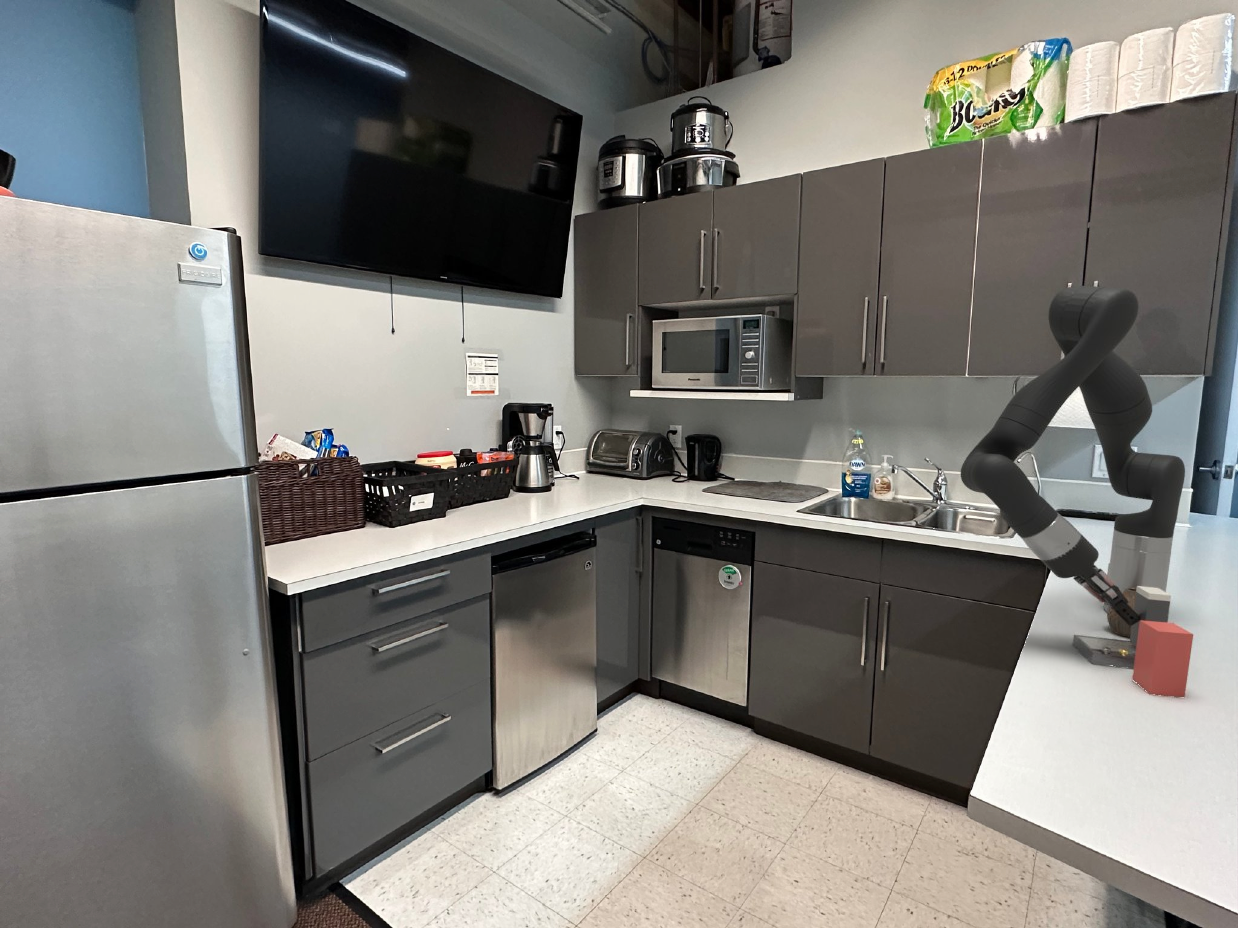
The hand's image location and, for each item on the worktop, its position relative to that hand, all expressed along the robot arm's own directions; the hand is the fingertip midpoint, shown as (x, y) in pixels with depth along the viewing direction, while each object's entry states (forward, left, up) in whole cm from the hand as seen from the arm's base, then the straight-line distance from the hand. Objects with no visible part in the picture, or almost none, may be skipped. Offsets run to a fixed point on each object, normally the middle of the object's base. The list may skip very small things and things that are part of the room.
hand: (1133, 621), depth 105 cm
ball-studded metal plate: (0, 0, -7) cm, 7 cm away
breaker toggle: (0, +2, -4) cm, 5 cm away
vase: (-13, +7, -7) cm, 16 cm away
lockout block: (+11, -2, -7) cm, 13 cm away
